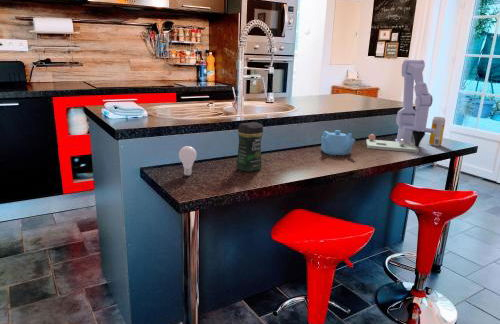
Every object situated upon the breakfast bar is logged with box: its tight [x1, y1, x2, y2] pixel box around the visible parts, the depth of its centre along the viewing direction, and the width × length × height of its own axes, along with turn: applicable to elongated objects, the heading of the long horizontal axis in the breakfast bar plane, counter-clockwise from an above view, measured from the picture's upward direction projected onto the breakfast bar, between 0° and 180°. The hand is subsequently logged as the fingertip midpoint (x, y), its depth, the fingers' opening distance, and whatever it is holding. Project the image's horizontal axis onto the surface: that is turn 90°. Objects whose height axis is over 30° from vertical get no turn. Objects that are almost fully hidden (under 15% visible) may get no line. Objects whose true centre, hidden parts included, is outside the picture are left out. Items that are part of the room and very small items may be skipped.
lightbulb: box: [178, 145, 198, 177], centre depth 139 cm, size 6×6×11 cm
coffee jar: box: [235, 121, 264, 173], centre depth 149 cm, size 10×8×19 cm
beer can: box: [428, 116, 446, 147], centre depth 207 cm, size 6×6×15 cm
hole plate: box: [365, 138, 419, 154], centre depth 200 cm, size 16×24×2 cm, turn 76°
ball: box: [368, 133, 376, 141], centre depth 206 cm, size 4×4×4 cm
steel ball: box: [399, 139, 406, 146], centre depth 196 cm, size 4×4×4 cm
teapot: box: [320, 129, 356, 157], centre depth 182 cm, size 15×15×11 cm
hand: (416, 146), depth 195 cm, fingers closed
